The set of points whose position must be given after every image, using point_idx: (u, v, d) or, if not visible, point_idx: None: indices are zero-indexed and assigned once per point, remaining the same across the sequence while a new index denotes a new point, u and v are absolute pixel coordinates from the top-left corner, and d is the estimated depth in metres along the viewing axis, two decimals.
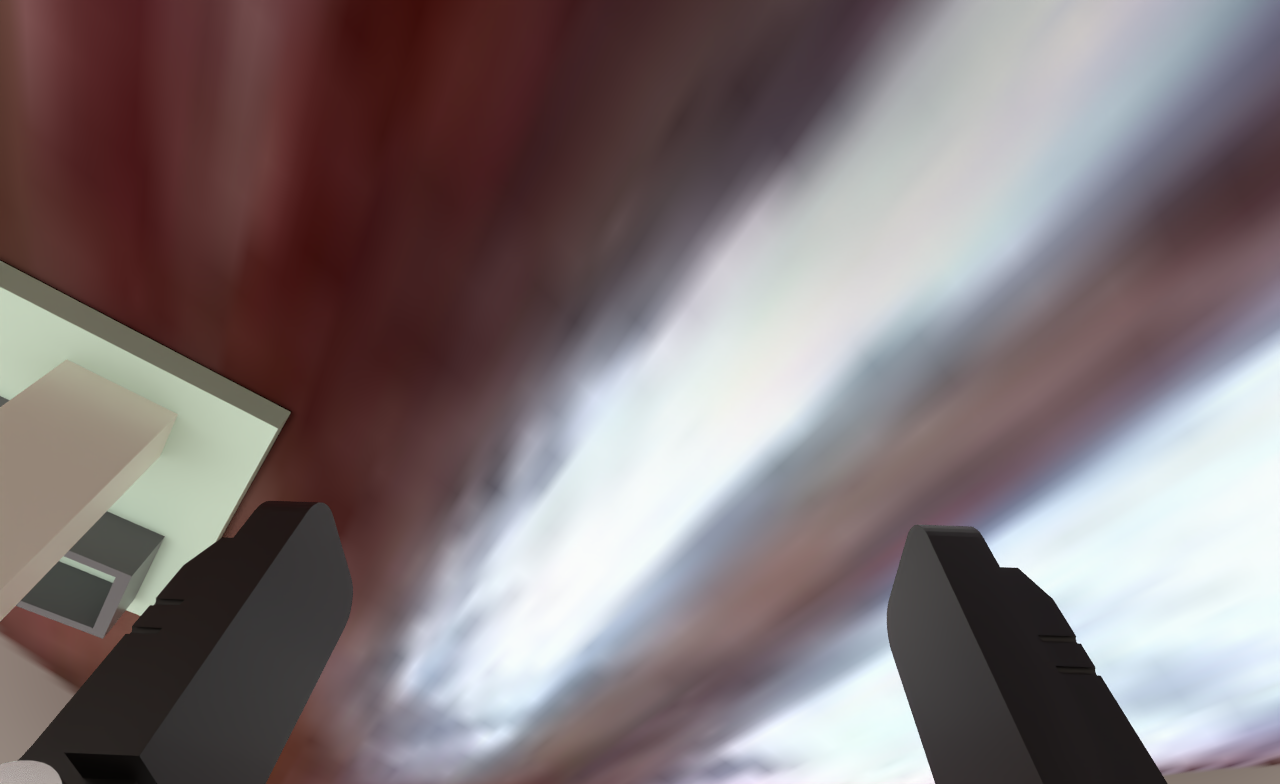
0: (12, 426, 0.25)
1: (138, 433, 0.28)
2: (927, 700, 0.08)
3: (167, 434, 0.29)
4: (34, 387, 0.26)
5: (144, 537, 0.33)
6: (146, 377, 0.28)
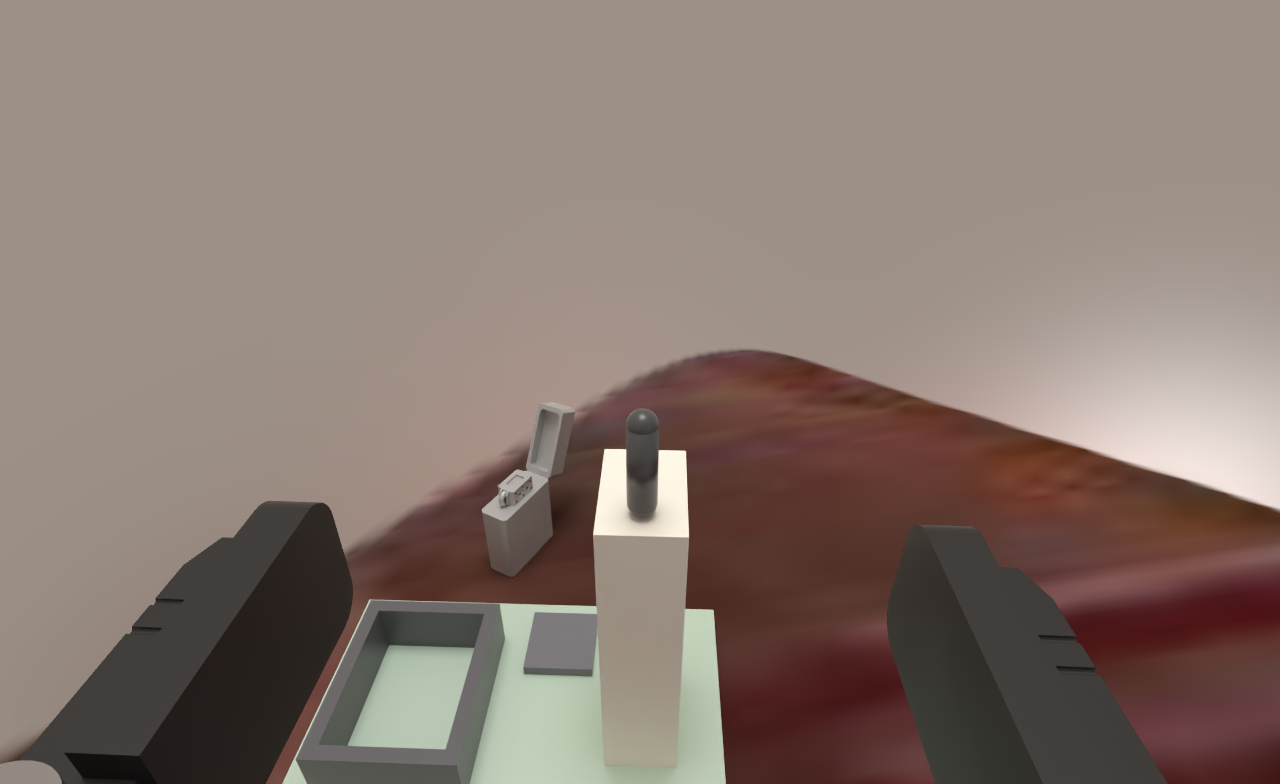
0: None
1: None
2: (927, 700, 0.08)
3: (648, 763, 0.28)
4: None
5: (468, 776, 0.27)
6: (702, 732, 0.29)
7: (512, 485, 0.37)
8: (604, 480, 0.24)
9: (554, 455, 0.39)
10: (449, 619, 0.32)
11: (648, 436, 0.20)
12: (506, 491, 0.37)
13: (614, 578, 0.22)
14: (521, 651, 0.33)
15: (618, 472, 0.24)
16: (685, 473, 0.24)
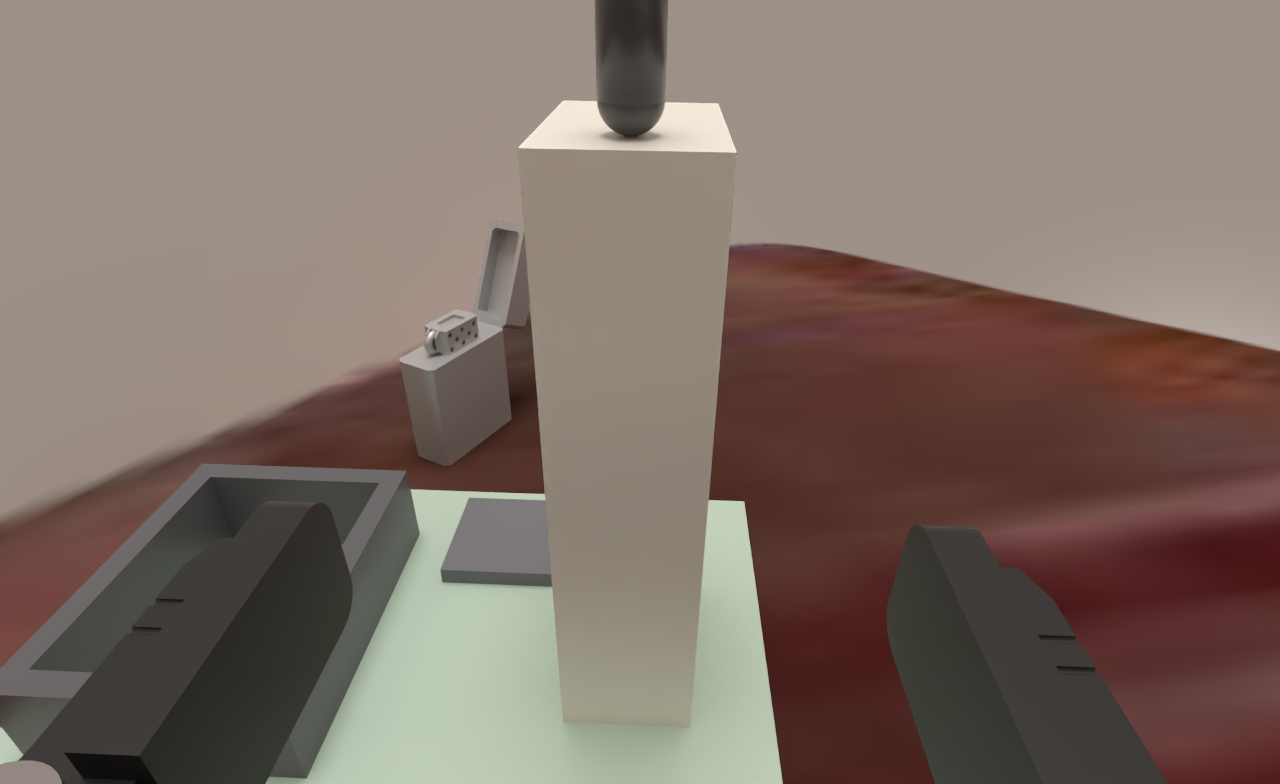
0: None
1: None
2: (927, 700, 0.08)
3: (640, 719, 0.16)
4: None
5: (315, 735, 0.15)
6: (734, 670, 0.17)
7: (446, 325, 0.25)
8: (556, 116, 0.12)
9: (511, 292, 0.27)
10: (325, 493, 0.20)
11: None
12: (437, 331, 0.25)
13: (569, 281, 0.10)
14: (442, 551, 0.21)
15: (586, 112, 0.12)
16: (720, 114, 0.12)
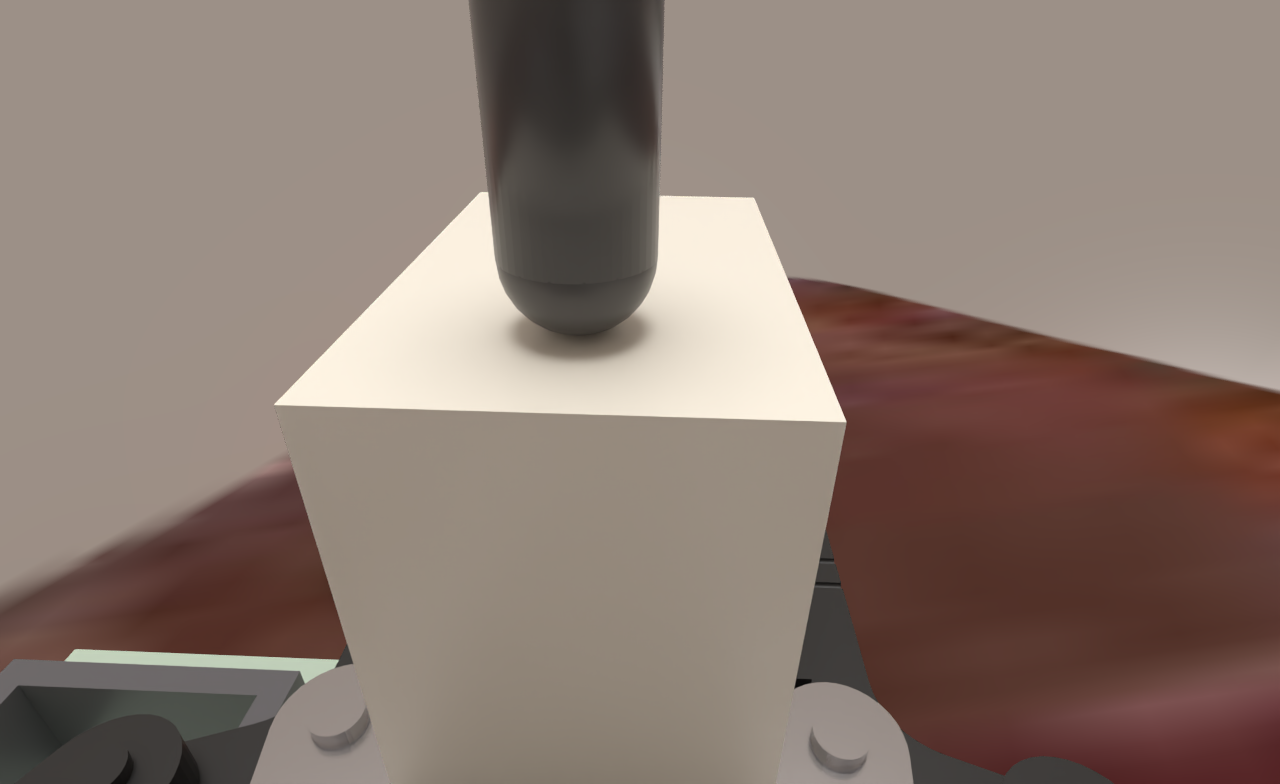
0: None
1: None
2: None
3: None
4: None
5: None
6: None
7: None
8: (445, 244, 0.06)
9: None
10: (183, 706, 0.14)
11: None
12: None
13: (442, 651, 0.05)
14: None
15: None
16: (765, 234, 0.06)
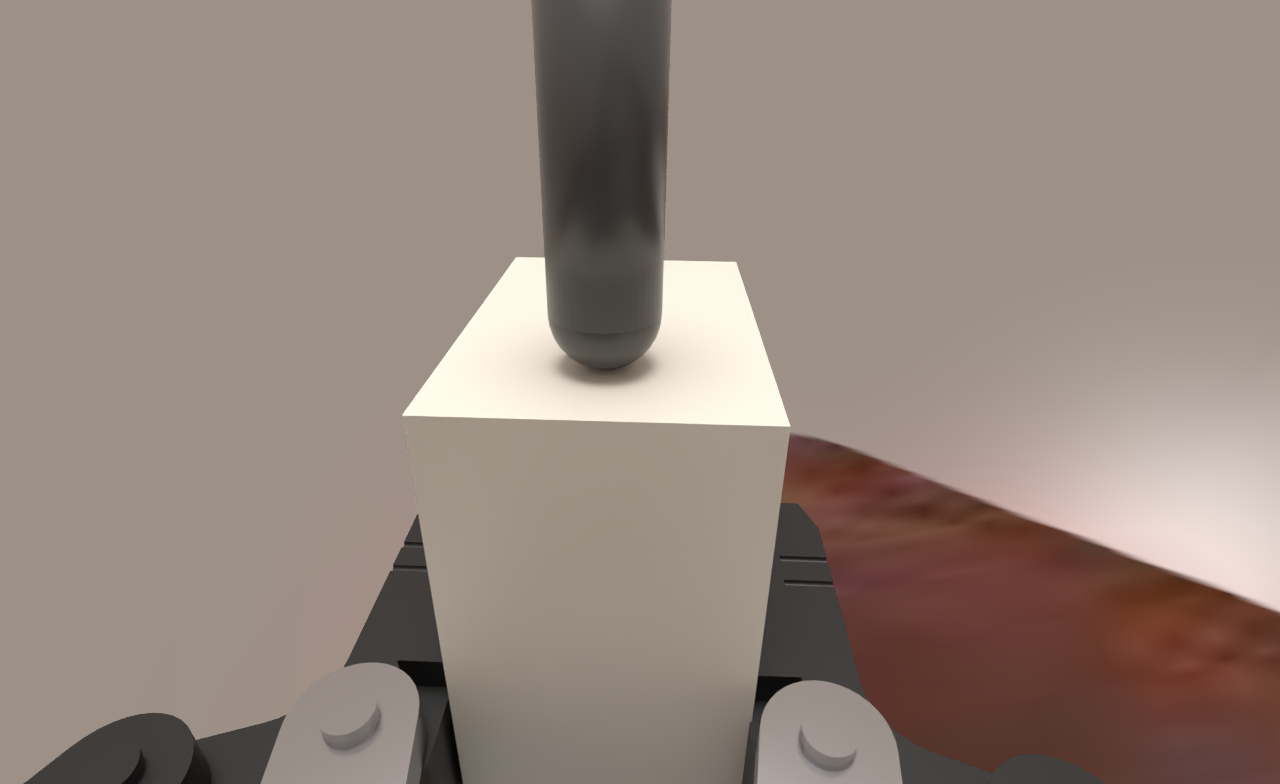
0: None
1: None
2: None
3: None
4: None
5: None
6: None
7: None
8: (496, 301, 0.08)
9: None
10: None
11: None
12: None
13: (502, 604, 0.06)
14: None
15: (543, 290, 0.08)
16: (743, 293, 0.08)
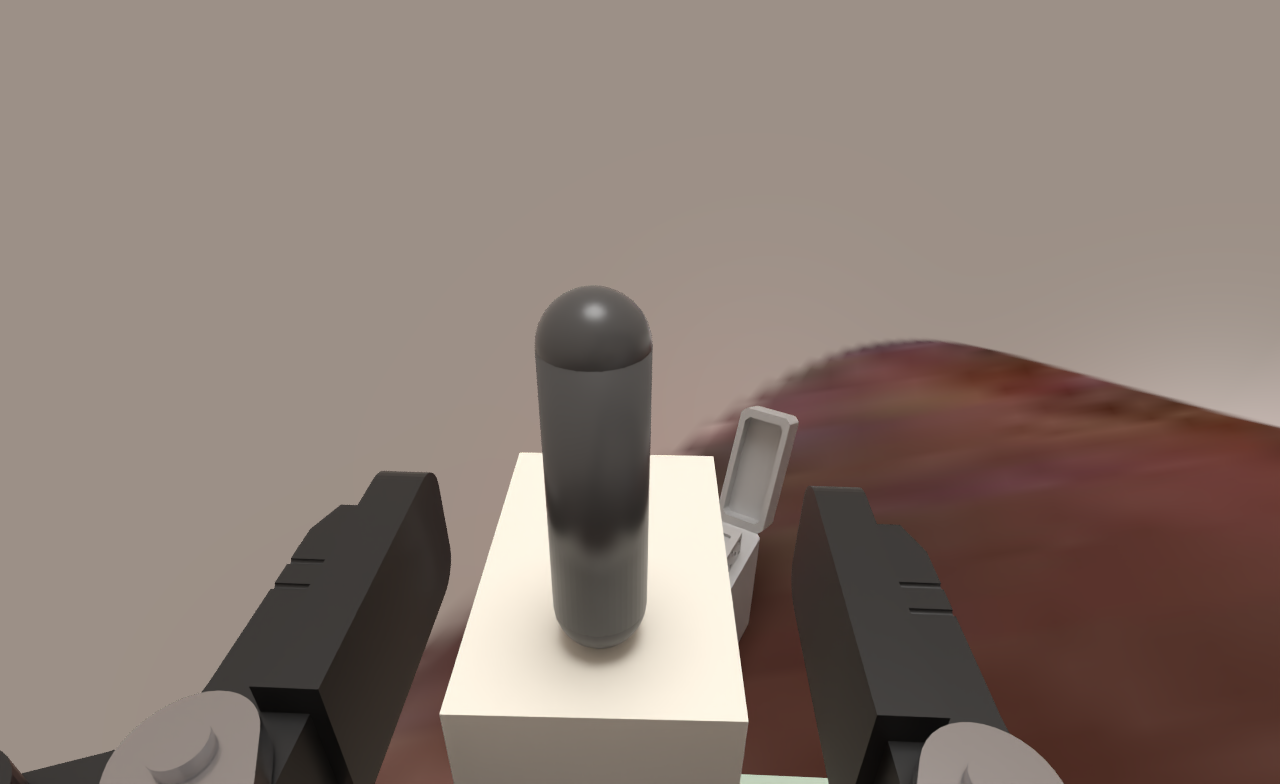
0: None
1: None
2: (812, 646, 0.09)
3: None
4: None
5: None
6: None
7: None
8: (506, 530, 0.09)
9: (770, 495, 0.23)
10: None
11: (613, 379, 0.05)
12: None
13: None
14: None
15: (546, 509, 0.09)
16: (717, 511, 0.09)
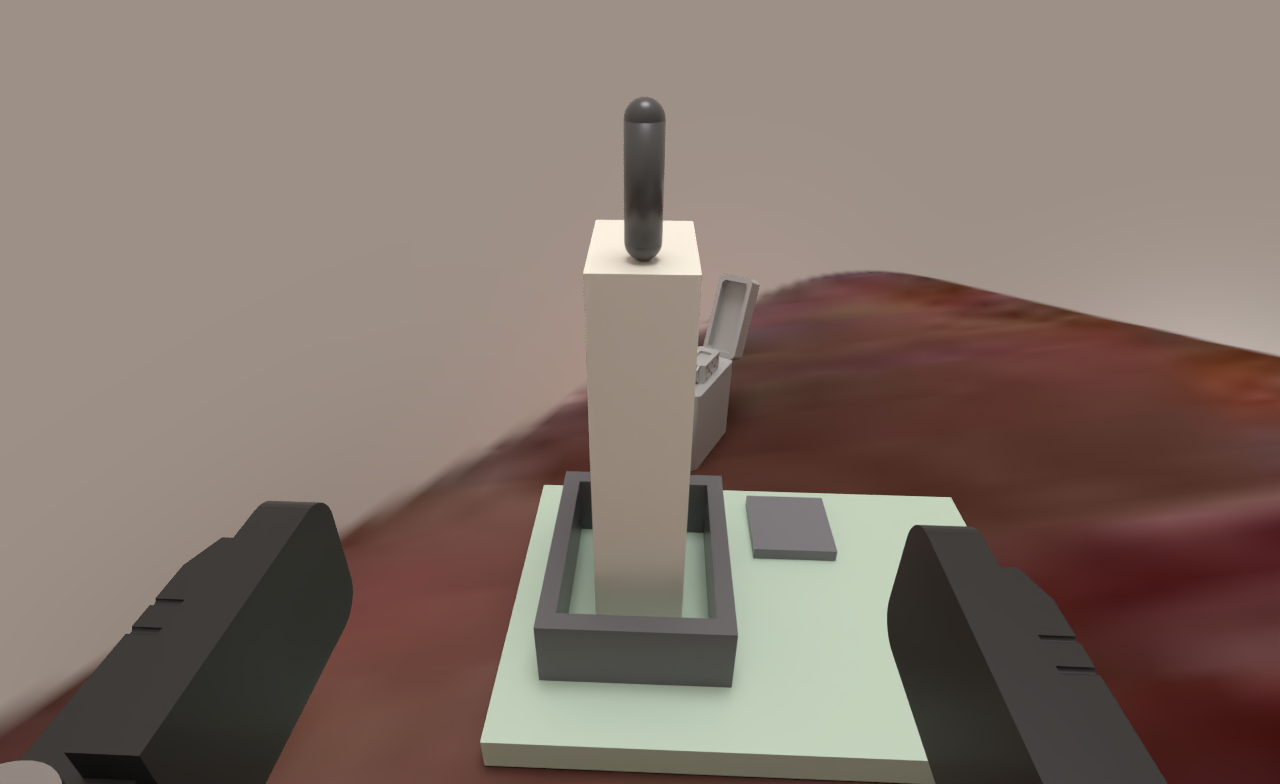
0: None
1: None
2: (927, 700, 0.08)
3: None
4: None
5: None
6: None
7: (700, 360, 0.32)
8: (596, 238, 0.19)
9: (739, 332, 0.34)
10: None
11: (652, 127, 0.16)
12: None
13: (608, 342, 0.18)
14: (741, 535, 0.28)
15: (613, 234, 0.20)
16: (694, 234, 0.20)
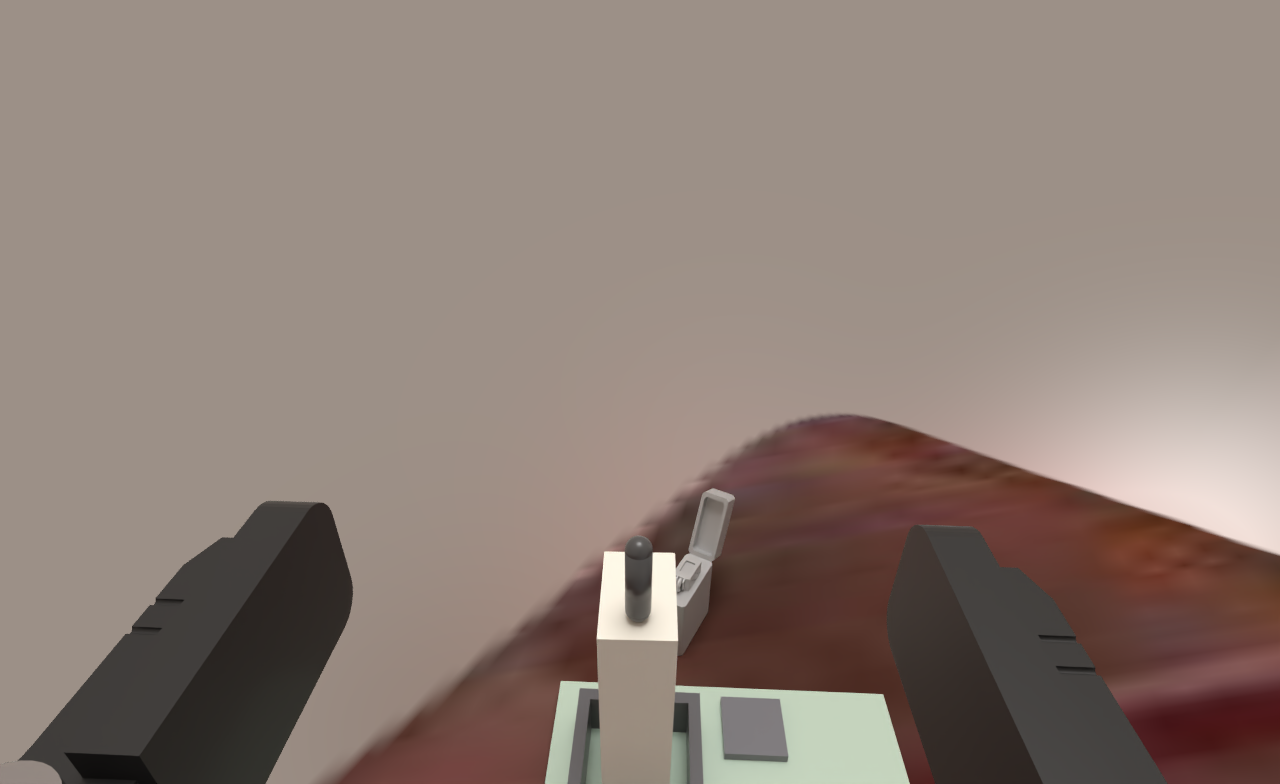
0: None
1: None
2: (927, 700, 0.08)
3: None
4: None
5: None
6: None
7: (686, 571, 0.40)
8: (605, 584, 0.27)
9: (718, 540, 0.42)
10: None
11: (644, 560, 0.24)
12: (682, 578, 0.40)
13: (614, 673, 0.26)
14: (715, 736, 0.35)
15: (617, 575, 0.28)
16: (674, 576, 0.28)
